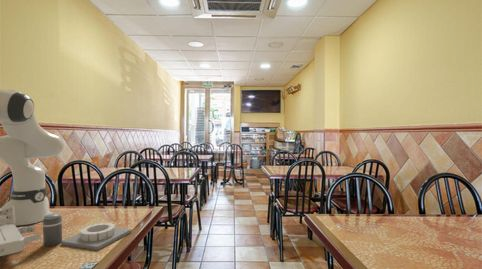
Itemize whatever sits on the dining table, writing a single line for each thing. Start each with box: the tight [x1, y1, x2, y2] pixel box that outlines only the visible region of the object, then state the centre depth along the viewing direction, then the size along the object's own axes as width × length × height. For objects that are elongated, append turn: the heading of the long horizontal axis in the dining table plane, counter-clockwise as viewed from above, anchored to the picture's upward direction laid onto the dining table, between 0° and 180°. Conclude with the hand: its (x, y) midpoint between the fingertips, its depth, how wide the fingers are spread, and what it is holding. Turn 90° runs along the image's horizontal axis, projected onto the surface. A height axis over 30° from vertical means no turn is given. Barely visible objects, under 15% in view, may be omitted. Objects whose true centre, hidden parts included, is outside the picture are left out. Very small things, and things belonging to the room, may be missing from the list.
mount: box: [60, 222, 132, 251], centre depth 95 cm, size 16×16×4 cm
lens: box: [42, 212, 63, 248], centre depth 91 cm, size 6×6×10 cm
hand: (37, 231), depth 88 cm, fingers open, 8 cm apart
